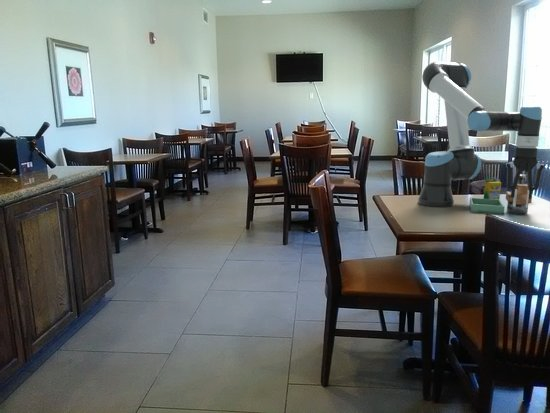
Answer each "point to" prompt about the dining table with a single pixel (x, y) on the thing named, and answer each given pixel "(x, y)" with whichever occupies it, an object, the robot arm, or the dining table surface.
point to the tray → (486, 205)
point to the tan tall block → (519, 194)
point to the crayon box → (492, 189)
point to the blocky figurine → (519, 208)
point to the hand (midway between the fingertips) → (519, 206)
